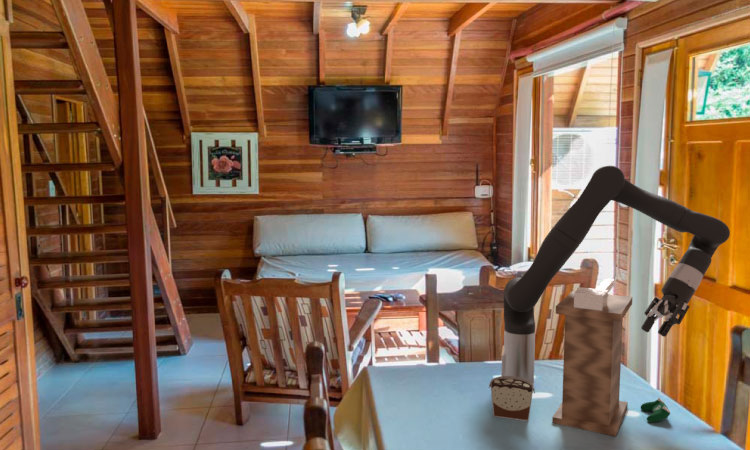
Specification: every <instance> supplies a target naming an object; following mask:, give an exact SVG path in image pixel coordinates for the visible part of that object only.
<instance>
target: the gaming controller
mask: <svg viewBox="0 0 750 450" xmlns="http://www.w3.org/2000/svg"><path fill="white" fill-rule="evenodd" d="M640 410H641V411H643V412H652V413H651V414H649V415H648V416H647V417H646V421H647V422H648V423H657V422H660V421H663V420H665V419H668V418H669V416H670V414H671V410H669V408H668V406H667V405H666V404H665V402H664V400H662V399H661V398H660V397H658V398H657V399H656V400H654V401H648V402H644V403H642V404H641V405H640Z"/></svg>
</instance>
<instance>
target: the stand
mask: <svg viewBox="0 0 750 450" xmlns="http://www.w3.org/2000/svg"><path fill="white" fill-rule="evenodd" d="M576 291H577V290H572V291H571V292H570V293H569V294H568V295H566V296H565V297H564V298H563V299H562V300H561V301H559V303H557V304H556V306H555V314H557V315H564V336H563V337H564V338H563V339H564V340H563V342H564V343H563V365H562V366H563V370H562V371H563V372H562V373H563V374H562V398H561V399H562V401H561V404H560V405H559V406H558V408H557V410H556V411H555V412H554V414H553V415H552V417H551V418H552V419H551V421H552V423H553V424H557V425H562V426H566V427H571V428H575V429H580V430H584V431H589V432H593V433H598V434H603V435H608V436H612V437H617V434H618V433H619V429H620V426H621V424H622V422H623V420H624V417H625V414H626V413H627V410H628V407H629V405H628V401H625V400H620V389H621V384H620V383H621V369H622V367H621V364H622V363H621V362H622V347H623V346H622V345H623V344H622V343H623V342H622V341H623V337H622V336H623V319H624V318H625V315H626V314H627V313H628V311H629V309H630V308H631V306H632V305H633V296H626V295H616V294H609V293H608V299H607V306H606V307H605V309H604V310H603V311H596V310H588V309H580V308H574V293H575V292H576Z"/></svg>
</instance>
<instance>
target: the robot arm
mask: <svg viewBox="0 0 750 450" xmlns="http://www.w3.org/2000/svg"><path fill="white" fill-rule="evenodd" d="M611 201H612V202H613V201H614V202H617V203H620V204H622V205H625V206H627V207H629V208H631V209H634V210H636V211H638V212H640V213H642V214H643V215H645V216H647V217H649V218H651V219H653V220H654V221H657V222H658V223H660V224H662V225H665V226H666V227H668V228H670V229H672V230H674V231H677V232H679V233H689V234H691V235H693V237H692V239H691V240H690V243H689V246H688V248H687V250H686V251H685V253H683V255H682V257H681V259H680V261H679V262H678V264H677V265H676V266H675V267H674V269H673V270H672V271H671V273H670V274H669V276H668V279H666V281H665V283H664V285H663V286H662V288H661V293H662V295H663V296H662V297H661V298H660V299H659V297H657V296H655V297H654V298H653V299H652V301H651V302H650V304H649V305H648V307H647V308H646V310H645V311H644V315H645V316H646V319H645V321H644V322H643V324H642V325H641V330H642V331H644V332H645V333H649V332H650V331H651V329H652V328H653V326H654V324H655V322H656V321H657V320H658V319H660V318H663V317H665V319H664V321H663V322H662V324H661V326H660V327H659V329H658V331H657V333H658V334H659V335H661V336H662V337H664V338H665V337H667V335H668V334H669V332H670V330H671V329H672V326H673V327H674V326H676V325H680V324H681V323H682V322H683V319H684V317H685V316H686V314H687V313H688V310H689V308H690V305H688V304H689V303H690V301H691V300H692V297H693V296H694V294H695V293H696V291H697V289H698V287H699V286H700V284H701V282H702V280H703V278H704V276H705V274H706V273H707V271H708V269H709V268H710V265H711V263H712V257H713V256H714V254H715V252H716V251H717V249H718V248H719V247H720V246H721V245H722V244H724V243H726V242H727V241H728V240H729V238H730V235H731V231H730V228H729V227H728V225H727V224H726V223H725V222H723V221H722V220H720V219H718V218H716V217H715V216H712V215H708V214H704V213H701V212H697V211H694V210H692V209H690V208H689V207H686V206H685V205H683V204H680V203H677V202H676V201H673V200H671V199H670V198H667V197H664V196H661V195H658V194H655V193H653V192H650V191H648V190H645V189H644V188H640V187H639V186H637V185H635V184H634V183H632V182H630V181H629V180H627V179H626V178H625V175H624V172H623V171H622V170H621V169H620V167H617V166H615V165H611V164H609V165H608V164H607V165H604V166H601V167H599V168H597V169H596V170H594V172H593V174H592V176H591V178H590V180H589V182H588V183H587V185H586V186H585V188H584V190H583V191H582V193H581V195H580V196H579V197H578V199H577V200H576V201H575V202H574V203H573V204H572V206H571V207H569V208H568V209H567V211H565V213H563V215H562V216H561V217H560V219H559V220H558V221H557V222H556V223H555V224H554V226H553V227H552V228H551V229H550V231H549V232H548V234H546V236H545V238H544V239H543V241H542V243H541V245H540V247H539V249H538V251H537V253H536V256H535V257H534V260H533V261H532V263H531V265H530V267H529V268H528V270H527V271H525V272H524V274H523V275H522V277H514V278H512V279H510V280H509V281H508V282H507V283H506V284H505V287H504V289H503V290H504V291H503V322H504V335H503V336H504V337H503V338H504V339H503V340H504V342H503V343H504V344H503V349H504V350H503V353H502V354H501V371H500V373H501V374H500V375H501V376H516V377H521V378H524V379H527V380H529V381H530V382H532V384H533V386H534V385H535V384H534V383H535V355H536V354H535V352H536V351H535V350H536V320H535V312H534V311H535V310H534V308H535V306H536V305H537V304H538V302H539V300H540V298H541V297H542V296H543V294H544V292H545V290H546V288H547V287H548V285H549V284H550V282H551V281H552V279H554V277H555V276H556V275H557V274H558V272H559V271H560V270H561V269H562V268H563V267H564V265H565V264H566V262H567V261H568V260H569V259H570V258H571V256H573V254H574V253H575V252H576V250H577V249H578V248H579V247H580V245H581V244H582V243H583V241H584V239H586V236H587V234H588V233H589V231H590V230H591V228H592V227H593V225H594V222H596V219H597V218H598V216H599V215H600V214H601V212H602V211H603V210H604V209H605V207H607V205H608V204H609V203H610V202H611ZM534 387H535V386H534Z"/></svg>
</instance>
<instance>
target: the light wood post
mask: <svg viewBox="0 0 750 450" xmlns="http://www.w3.org/2000/svg"><path fill="white" fill-rule="evenodd" d="M613 287H615V279H614V278H613V279H612V278H604V279H603V280H602V282H600V284H599V285H598V286H596V288H591V287H579V288H578V289H577V290H575V291H576V292H575V293H574V308H580V309H588V310H596V311H603V310H604V309H605V307H606V306H607V299H608V294H609V292H610V291H611V290H612V289H613Z"/></svg>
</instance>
